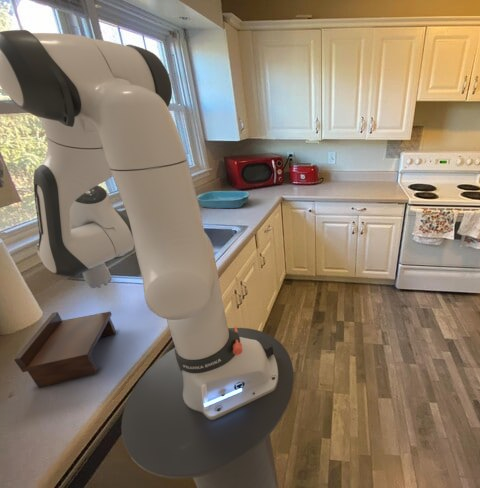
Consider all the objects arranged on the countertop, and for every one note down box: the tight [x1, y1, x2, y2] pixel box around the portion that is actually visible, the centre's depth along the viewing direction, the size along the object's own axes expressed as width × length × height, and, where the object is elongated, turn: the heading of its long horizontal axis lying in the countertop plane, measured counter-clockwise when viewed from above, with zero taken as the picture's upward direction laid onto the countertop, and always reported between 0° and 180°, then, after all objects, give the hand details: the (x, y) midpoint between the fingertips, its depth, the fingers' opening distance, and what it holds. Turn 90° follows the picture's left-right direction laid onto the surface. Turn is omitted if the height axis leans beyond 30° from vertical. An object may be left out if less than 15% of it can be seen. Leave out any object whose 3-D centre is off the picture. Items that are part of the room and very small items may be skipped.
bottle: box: [81, 262, 112, 289], centre depth 84 cm, size 7×7×20 cm
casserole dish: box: [197, 190, 251, 209], centre depth 196 cm, size 37×22×7 cm, turn 85°
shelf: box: [13, 311, 117, 388], centre depth 74 cm, size 13×17×10 cm
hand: (85, 252), depth 84 cm, fingers closed on bottle, 6 cm apart
